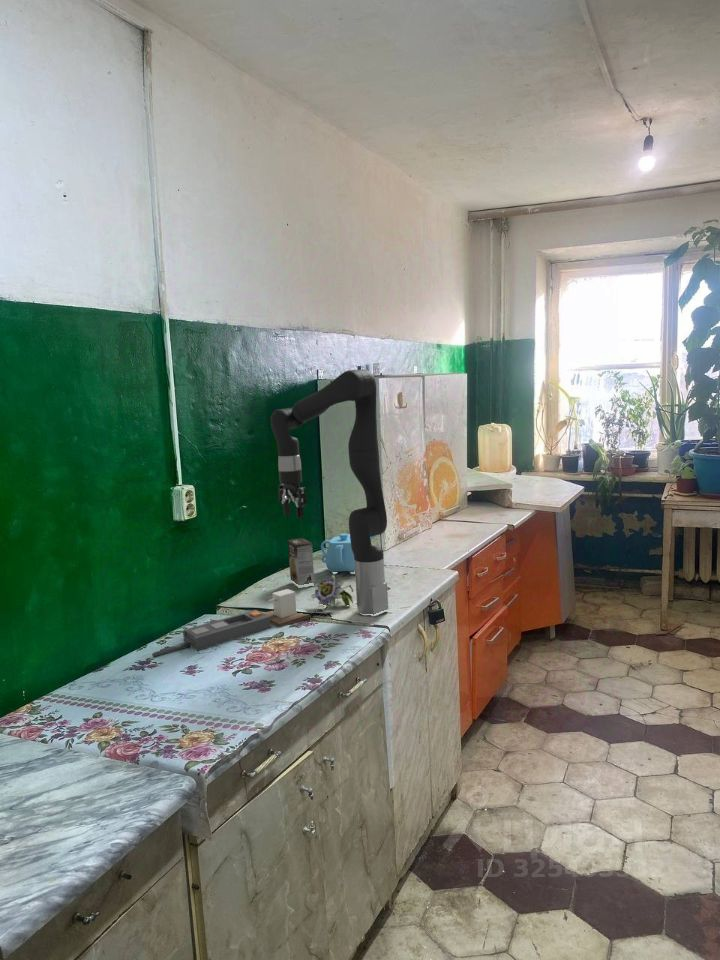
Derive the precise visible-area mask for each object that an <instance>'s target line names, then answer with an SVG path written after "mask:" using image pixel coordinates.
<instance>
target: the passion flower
mask: <svg viewBox="0 0 720 960" xmlns="http://www.w3.org/2000/svg"><path fill="white" fill-rule="evenodd" d="M344 584H345V581H344V580H340V581H336V574H331V575H330V577H327V578H326V579H323V580H322V579H321V580H320V581H319V583H318V585H316V586H317V587H318V588H317V589H315V591H314V593H313V594H312V595H311V596H310V597H311V598H312V599H315V598H316V599H317V600H318V605H319V604H323V605H326V606H327V605H328V606H330V607H331V608H334V606H335V605H336V600H337V599H338V600H339V599H341V600H342V601H343V603H344V605H345V606H347V605H349V606H350V602H351V604H354V602H353V601H354V600H353V596H352V595H351V594H350V593H349V592H348V591H346V590H345V589H347V588H348V587H349V588H350V591H351V592H354V589H353V587H352V585H351V584H350V585H349V584H348V585H347V586H345V587H342V586H343V585H344ZM323 605H322V606H323Z"/></svg>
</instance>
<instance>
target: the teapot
mask: <svg viewBox="0 0 720 960" xmlns="http://www.w3.org/2000/svg"><path fill="white" fill-rule="evenodd" d="M376 536H377V535H376ZM376 536H373V537H370V539H371V541H372V540H373V539H374V538H375V537H376ZM325 544H328V546H327V550H325V546H324V545H325ZM320 549H321V552H322V554H323V555H322V557H321V561H322V563H324V564H326V567H327V569H328V570H329V571H330V572H332V571H333V572H338V571H339V572H348V573H349V572H354V571H355V564H354V554H353V551H352V548H351V540H350V533H340V534H339V536H335V537H333V538H331V539H330V540H329V539H326V540H323V542H321V545H320Z"/></svg>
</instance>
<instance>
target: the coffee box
mask: <svg viewBox="0 0 720 960" xmlns="http://www.w3.org/2000/svg"><path fill="white" fill-rule="evenodd" d="M287 551H288V552H287V553H288V563H289V574H290V581H291V580H292V581H294V582H295V583H296V584H298V585H304V584H309V583H314V582H315V572H314V571H315V570H314V555H313V553H314V552H313V543H312V542H311V541H309V540H308V539H305V538H303V537H301V538H295V539H288V540H287Z"/></svg>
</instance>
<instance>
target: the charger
mask: <svg viewBox="0 0 720 960" xmlns="http://www.w3.org/2000/svg"><path fill="white" fill-rule="evenodd" d="M296 600H297V599H296V592H295V591H294V590H291V589H289V588H287V589H286V588H285V589H282V590H278V591H275V592H272V598H270V599H268V601H267V602H268V603H270V604H272V603H273V610H274V615H276V616H279V617H281V618H283V617H286V616H290V615H293V614H297V611H296V607H297V602H296Z"/></svg>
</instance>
